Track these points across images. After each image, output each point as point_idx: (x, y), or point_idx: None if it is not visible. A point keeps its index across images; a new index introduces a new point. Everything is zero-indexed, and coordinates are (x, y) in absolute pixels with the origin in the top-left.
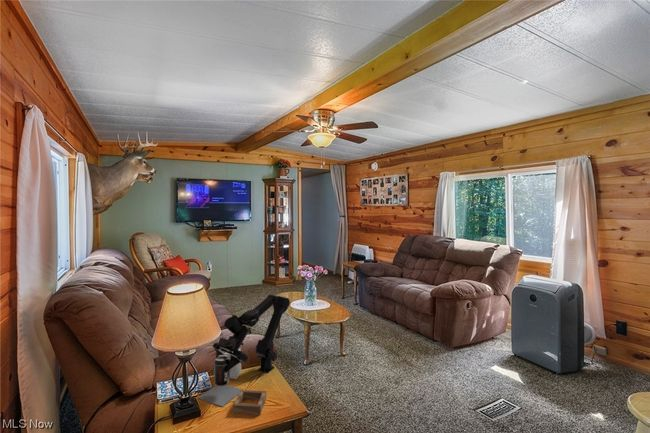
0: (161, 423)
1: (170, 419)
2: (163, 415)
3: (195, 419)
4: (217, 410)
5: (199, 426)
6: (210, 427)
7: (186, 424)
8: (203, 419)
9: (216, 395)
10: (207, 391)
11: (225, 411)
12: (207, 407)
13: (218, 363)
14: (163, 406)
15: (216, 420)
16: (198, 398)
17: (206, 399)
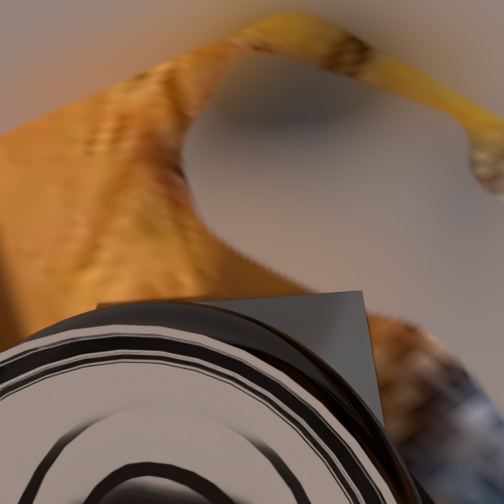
0: (321, 23)
1: (310, 62)
2: (382, 65)
3: (173, 127)
4: (104, 262)
5: (100, 98)
6: (29, 122)
7: (186, 76)
8: (125, 150)
9: None
10: (379, 407)
11: (38, 283)
12: (201, 251)
13: (88, 325)
14: (475, 115)
15: (36, 182)
16: (355, 291)
17: (281, 309)
